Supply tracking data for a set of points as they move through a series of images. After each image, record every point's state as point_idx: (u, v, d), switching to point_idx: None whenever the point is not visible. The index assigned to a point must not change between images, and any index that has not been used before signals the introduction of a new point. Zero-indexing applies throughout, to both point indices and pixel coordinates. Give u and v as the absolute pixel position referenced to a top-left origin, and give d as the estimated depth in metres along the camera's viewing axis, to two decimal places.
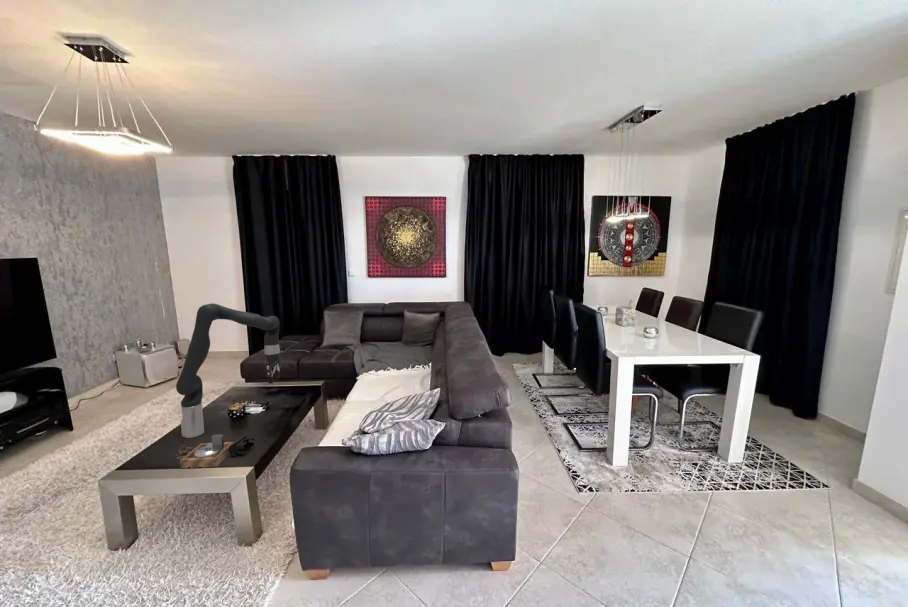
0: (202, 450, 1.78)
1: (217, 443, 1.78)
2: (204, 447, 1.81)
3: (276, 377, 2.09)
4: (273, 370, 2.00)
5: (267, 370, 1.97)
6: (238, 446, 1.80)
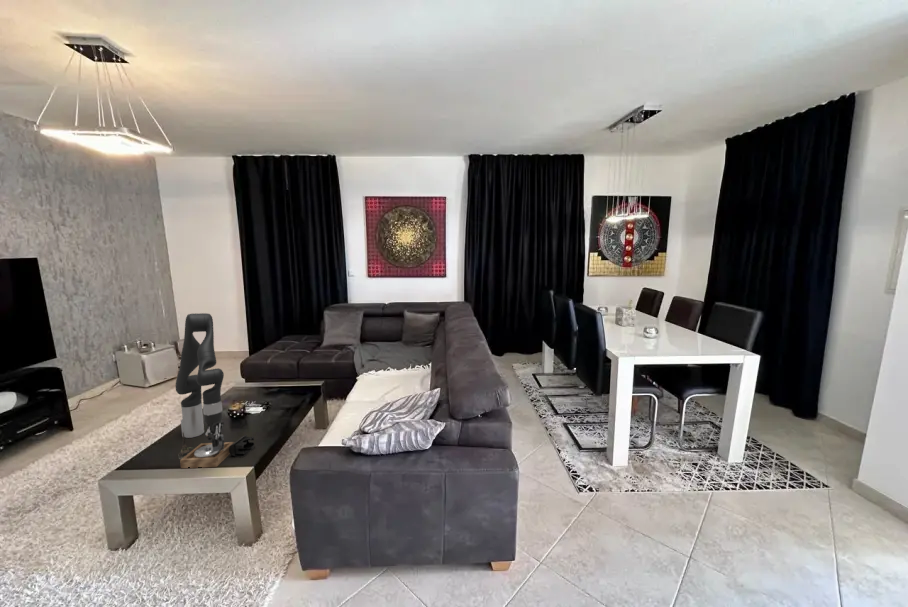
0: (202, 450, 1.77)
1: None
2: (204, 447, 1.81)
3: None
4: (215, 433, 1.73)
5: (207, 436, 1.70)
6: (238, 446, 1.80)
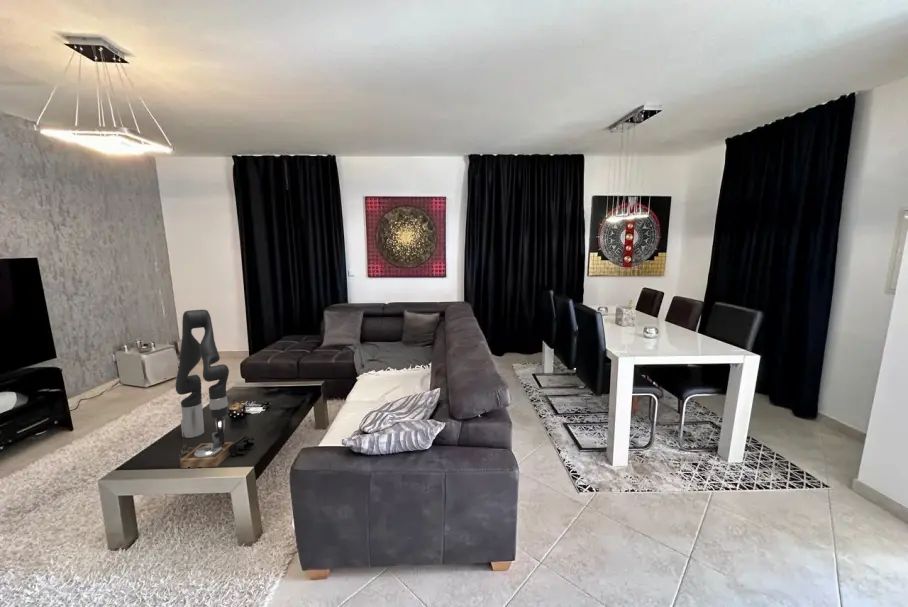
0: (204, 452, 1.76)
1: None
2: (199, 450, 1.78)
3: None
4: (224, 426, 1.79)
5: (219, 430, 1.75)
6: (238, 446, 1.80)
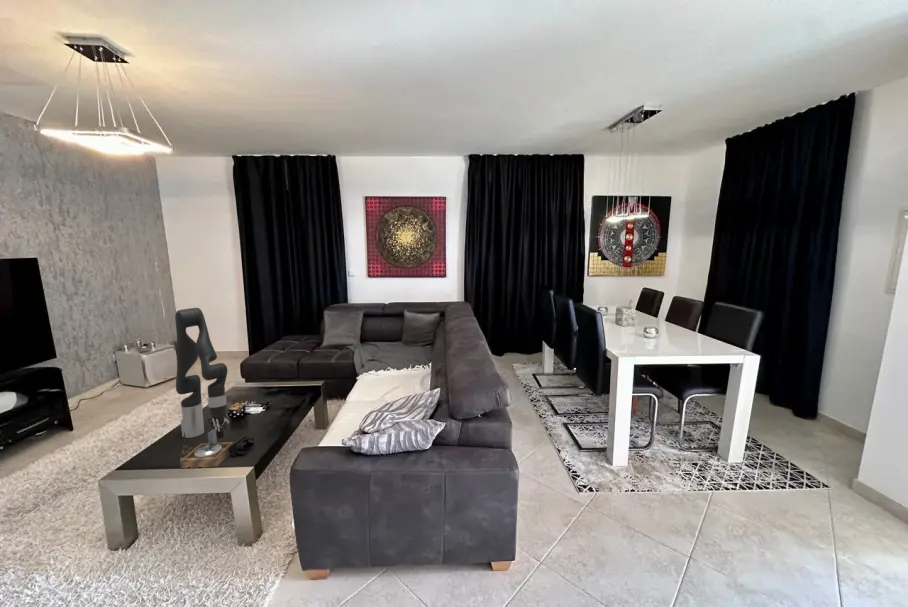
0: (208, 451, 1.77)
1: (214, 437, 1.83)
2: (199, 453, 1.75)
3: None
4: None
5: (226, 425, 1.81)
6: (238, 446, 1.80)
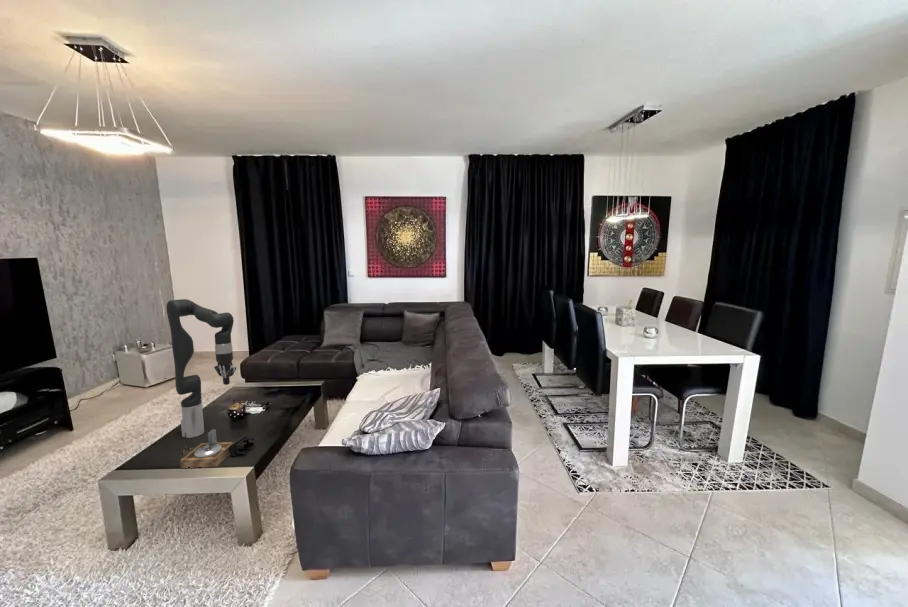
0: (208, 451, 1.77)
1: (214, 437, 1.83)
2: (199, 453, 1.75)
3: None
4: None
5: (232, 372, 1.89)
6: (238, 446, 1.80)
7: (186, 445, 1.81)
